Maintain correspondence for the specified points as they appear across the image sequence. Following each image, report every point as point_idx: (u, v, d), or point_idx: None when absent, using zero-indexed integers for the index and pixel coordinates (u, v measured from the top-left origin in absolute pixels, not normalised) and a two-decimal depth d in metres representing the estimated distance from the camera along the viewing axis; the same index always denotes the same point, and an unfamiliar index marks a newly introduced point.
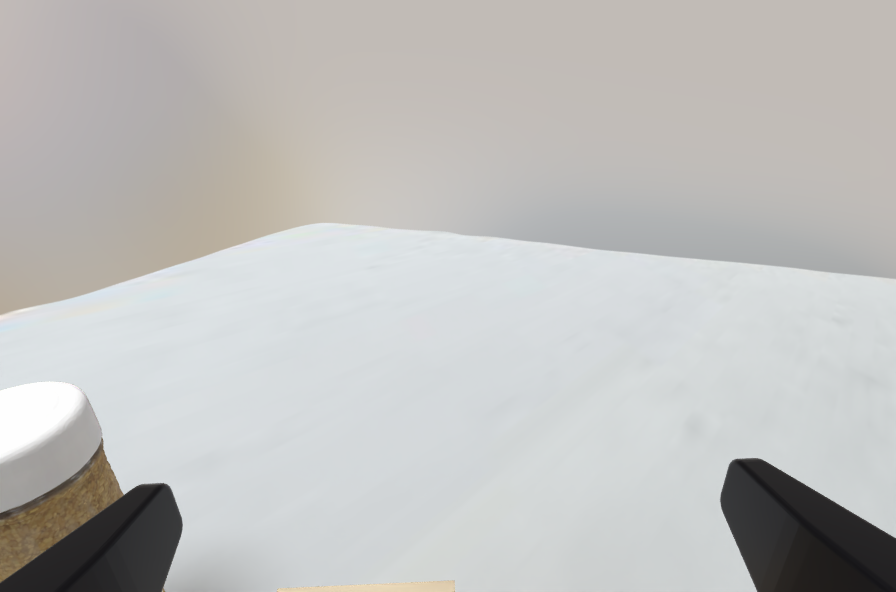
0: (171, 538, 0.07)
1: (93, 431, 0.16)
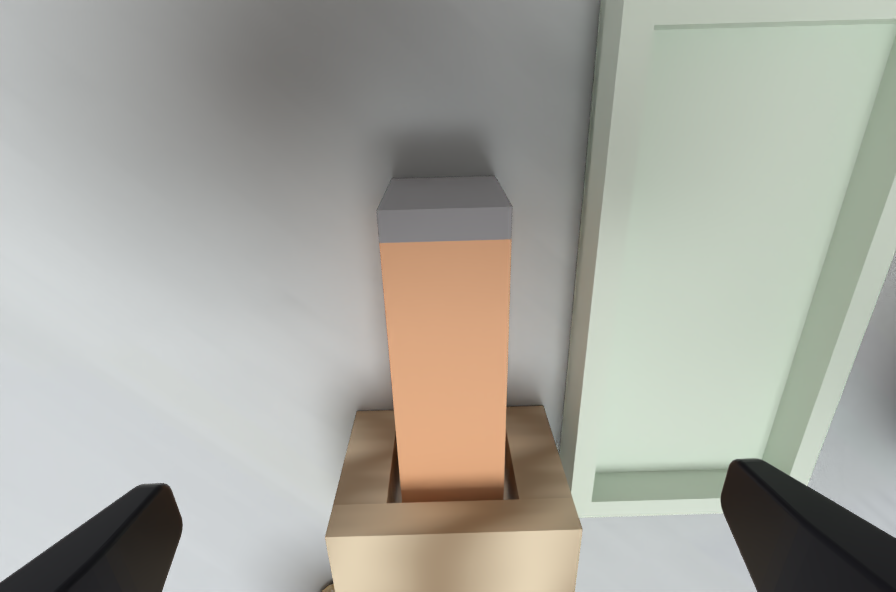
0: (171, 538, 0.07)
1: None
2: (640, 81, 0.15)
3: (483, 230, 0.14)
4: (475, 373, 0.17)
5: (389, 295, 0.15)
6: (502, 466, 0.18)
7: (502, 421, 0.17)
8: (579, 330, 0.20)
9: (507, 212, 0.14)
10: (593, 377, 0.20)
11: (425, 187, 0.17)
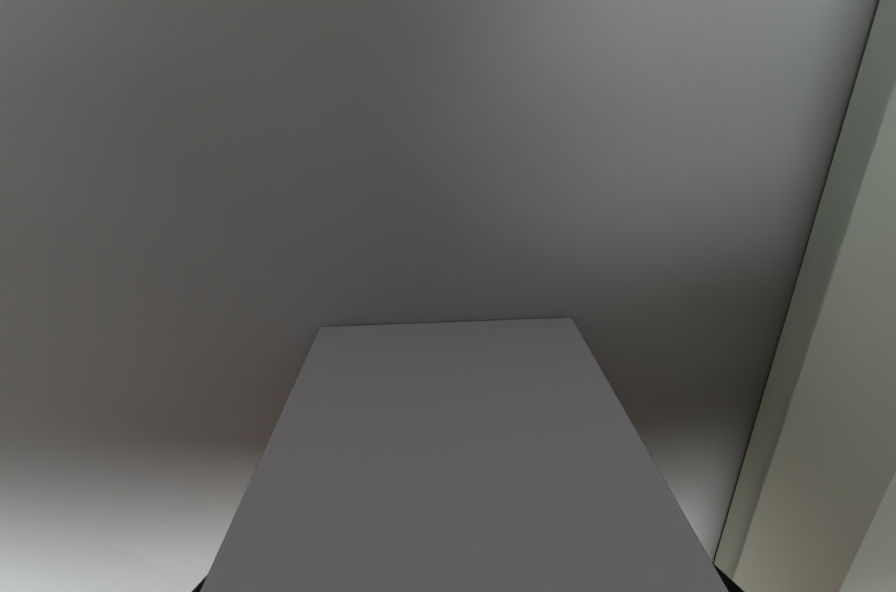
0: None
1: None
2: None
3: None
4: None
5: None
6: None
7: None
8: None
9: None
10: None
11: (397, 394, 0.06)
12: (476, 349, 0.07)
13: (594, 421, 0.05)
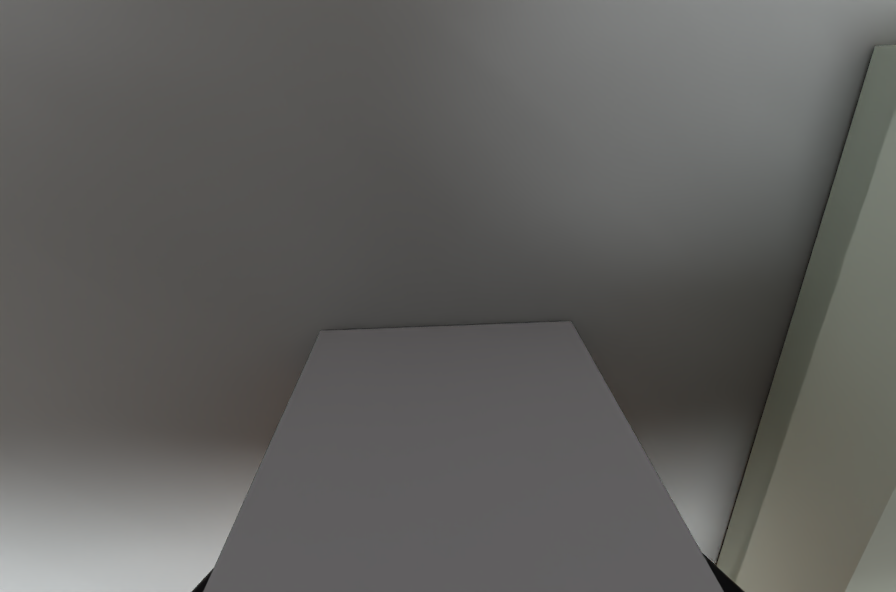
0: None
1: None
2: None
3: None
4: None
5: None
6: None
7: None
8: None
9: None
10: None
11: (397, 399, 0.06)
12: (476, 353, 0.07)
13: (594, 426, 0.05)
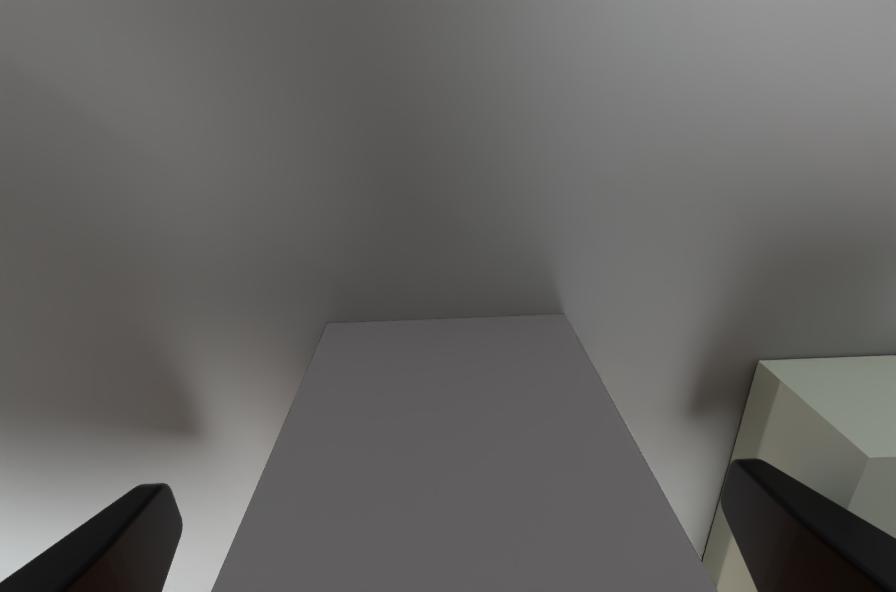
0: (171, 538, 0.07)
1: None
2: None
3: None
4: None
5: None
6: None
7: None
8: None
9: None
10: None
11: (400, 384, 0.06)
12: (474, 343, 0.07)
13: (583, 408, 0.06)
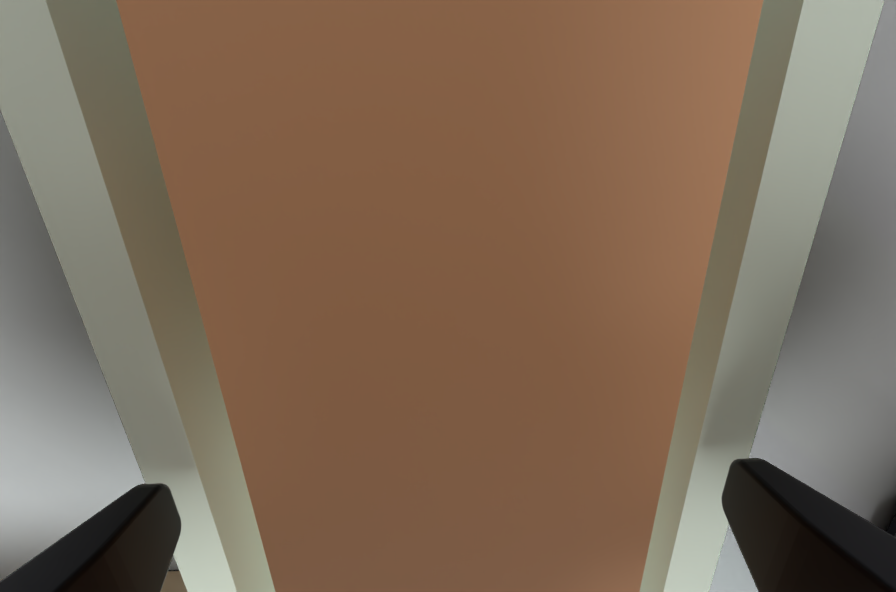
0: (170, 538, 0.07)
1: None
2: None
3: None
4: (546, 513, 0.05)
5: (202, 231, 0.04)
6: None
7: None
8: None
9: None
10: (200, 570, 0.10)
11: None
12: None
13: None
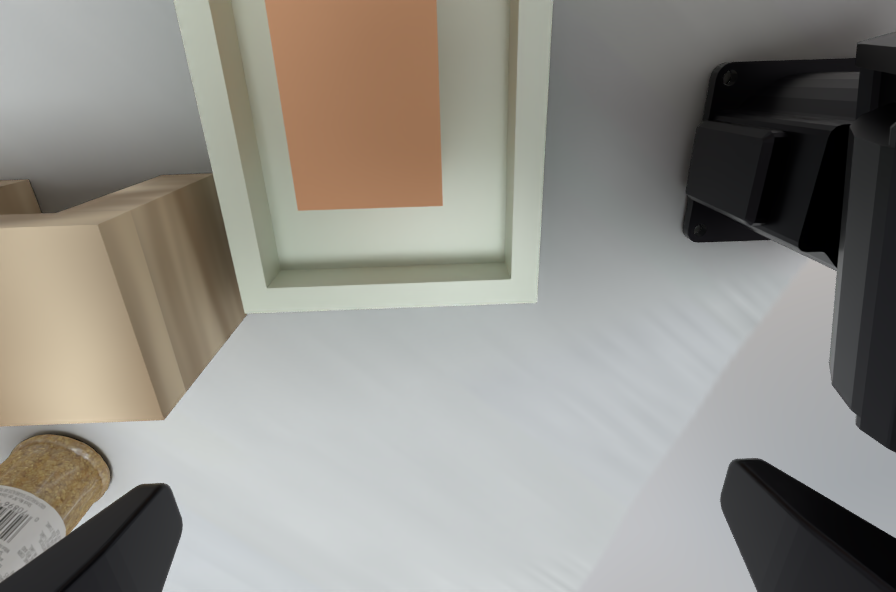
0: (171, 538, 0.07)
1: None
2: None
3: None
4: None
5: None
6: (434, 42, 0.12)
7: None
8: None
9: None
10: (205, 80, 0.15)
11: None
12: None
13: None
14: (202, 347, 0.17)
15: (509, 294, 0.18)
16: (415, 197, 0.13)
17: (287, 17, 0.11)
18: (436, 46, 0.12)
